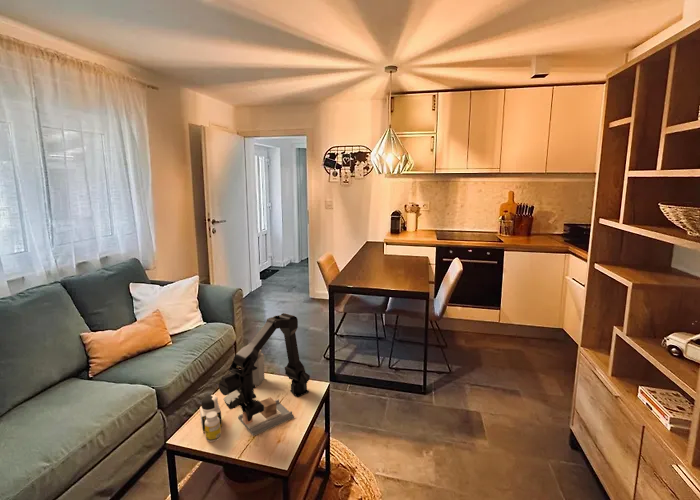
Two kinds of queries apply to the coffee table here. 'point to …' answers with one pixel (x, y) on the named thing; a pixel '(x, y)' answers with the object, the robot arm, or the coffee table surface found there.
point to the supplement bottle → (212, 427)
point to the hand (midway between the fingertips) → (247, 419)
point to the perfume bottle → (259, 370)
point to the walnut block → (269, 407)
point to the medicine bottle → (209, 409)
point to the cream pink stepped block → (257, 419)
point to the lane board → (271, 423)
